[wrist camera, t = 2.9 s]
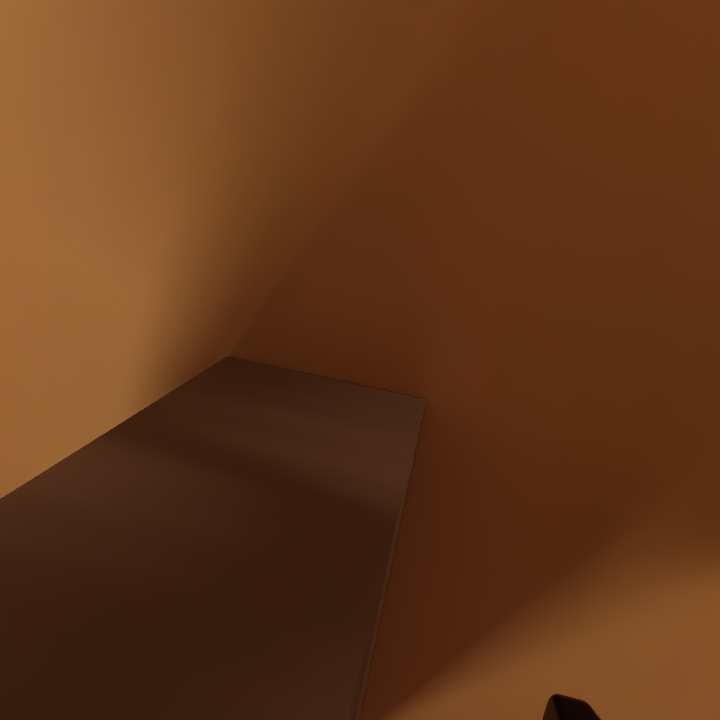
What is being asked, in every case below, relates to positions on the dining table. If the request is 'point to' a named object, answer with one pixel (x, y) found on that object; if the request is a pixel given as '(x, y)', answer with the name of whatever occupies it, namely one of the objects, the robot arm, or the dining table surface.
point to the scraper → (209, 555)
